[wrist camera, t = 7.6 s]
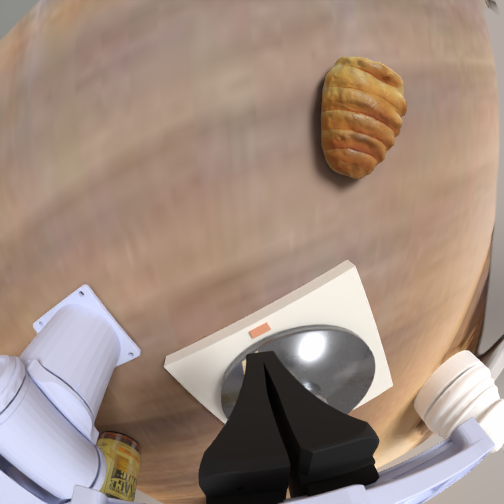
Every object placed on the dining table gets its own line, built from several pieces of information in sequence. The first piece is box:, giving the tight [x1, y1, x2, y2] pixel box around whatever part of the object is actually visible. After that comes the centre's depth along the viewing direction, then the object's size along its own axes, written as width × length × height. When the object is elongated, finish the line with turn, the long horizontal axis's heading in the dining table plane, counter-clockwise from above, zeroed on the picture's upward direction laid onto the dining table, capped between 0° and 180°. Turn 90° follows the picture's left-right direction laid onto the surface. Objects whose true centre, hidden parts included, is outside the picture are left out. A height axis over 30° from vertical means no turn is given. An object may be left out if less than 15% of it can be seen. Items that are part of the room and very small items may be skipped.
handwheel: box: [221, 324, 375, 419], centre depth 22 cm, size 15×15×4 cm
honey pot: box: [414, 351, 504, 454], centre depth 23 cm, size 13×13×18 cm
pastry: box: [321, 57, 407, 179], centre depth 17 cm, size 9×7×4 cm
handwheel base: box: [164, 260, 393, 424], centre depth 25 cm, size 18×18×2 cm
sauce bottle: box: [96, 432, 141, 502], centre depth 17 cm, size 7×6×20 cm
